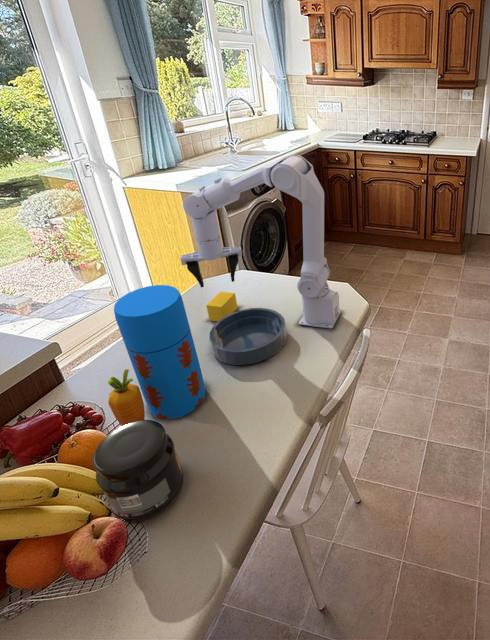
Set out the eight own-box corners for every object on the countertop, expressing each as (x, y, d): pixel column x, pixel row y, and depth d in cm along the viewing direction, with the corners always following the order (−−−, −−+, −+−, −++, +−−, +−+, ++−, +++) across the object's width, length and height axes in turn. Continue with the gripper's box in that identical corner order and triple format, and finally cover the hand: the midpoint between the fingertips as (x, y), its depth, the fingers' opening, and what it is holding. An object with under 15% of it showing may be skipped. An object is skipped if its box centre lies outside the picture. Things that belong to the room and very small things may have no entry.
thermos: (183, 424, 80) (151, 321, 68) (136, 415, 81) (97, 312, 70) (216, 385, 89) (193, 288, 78) (173, 377, 91) (144, 281, 79)
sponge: (237, 307, 115) (235, 292, 113) (224, 322, 109) (221, 306, 107) (223, 306, 116) (220, 291, 114) (209, 320, 110) (206, 305, 107)
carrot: (147, 418, 81) (126, 360, 74) (158, 432, 78) (137, 373, 71) (119, 434, 77) (94, 375, 70) (130, 449, 74) (105, 389, 68)
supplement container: (169, 453, 74) (153, 405, 69) (196, 490, 68) (180, 442, 62) (103, 494, 67) (78, 446, 61) (126, 541, 61) (101, 491, 55)
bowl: (297, 325, 109) (295, 311, 107) (268, 371, 93) (266, 356, 91) (236, 318, 111) (233, 304, 109) (197, 361, 95) (193, 346, 93)
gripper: (236, 227, 109) (244, 271, 116) (176, 235, 104) (188, 280, 110) (239, 237, 104) (247, 282, 110) (176, 246, 98) (188, 293, 104)
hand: (217, 282), depth 110 cm, fingers open, 7 cm apart
